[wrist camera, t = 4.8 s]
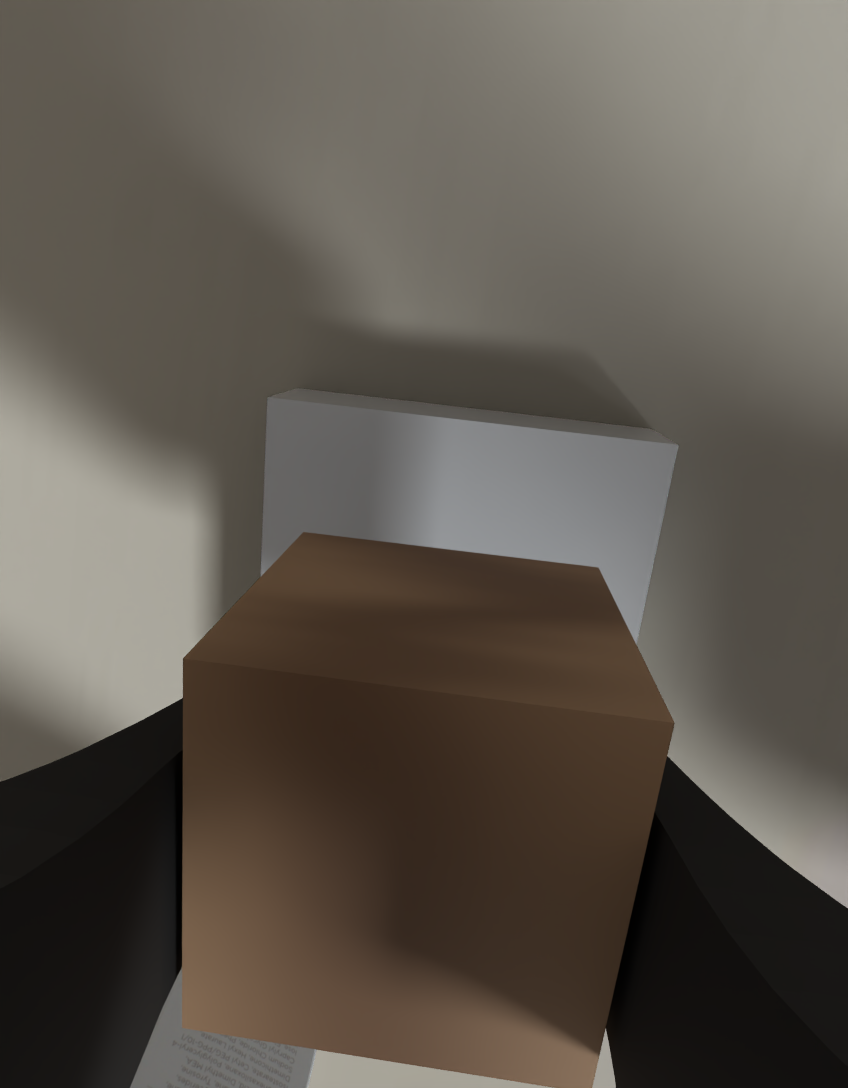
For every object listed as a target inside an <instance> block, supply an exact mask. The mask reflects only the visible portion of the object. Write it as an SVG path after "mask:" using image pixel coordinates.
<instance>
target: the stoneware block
mask: <svg viewBox="0 0 848 1088" xmlns="http://www.w3.org/2000/svg"><path fill="white" fill-rule="evenodd" d="M678 446H679V445H678V444H676V443H675V442H673V441H671V440H670V439H668V438H666V437H665V436H663V435H661V434H660V433H658V432H656V431H655V430H653V429H649V428H640V427H631V426H623V425H614V424H605V423H597V422H588V421H579V420H571V419H562V418H553V417H544V416H536V415H527V414H518V413H510V412H501V411H492V410H484V409H475V408H466V407H457V406H449V405H440V404H431V403H423V402H414V401H405V400H397V399H388V398H379V397H371V396H362V395H353V394H344V393H336V392H327V391H318V390H310V389H301V388H296V389H293V390H290V391H286V392H283V393H280V394H276V395H273V396H270V397H267V420H266V446H265V472H264V498H263V525H262V551H261V576H262V575H263V574H264V573H265V572H266V571H267V570H268V569H269V568H270V567H271V565H272V564H273V563H274V562H275V561H276V560H277V559H278V558H279V557H280V556H281V555H282V554H283V553H284V552H285V551H286V550H287V549H288V548H289V547H290V546H291V544H292V543H293V542H294V541H295V540H296V539H297V538H298V537H299V536H300V535H301V534H302V533H303V532H308V533H317V534H325V535H333V536H342V537H350V538H358V539H367V540H375V541H383V542H392V543H400V544H408V545H417V546H425V547H433V548H441V549H450V550H458V551H466V552H475V553H483V554H491V555H500V556H508V557H516V558H525V559H533V560H541V561H549V562H558V563H566V564H574V565H583V566H591V567H599V569H600V572H601V574H602V576H603V578H604V580H605V582H606V584H607V586H608V588H609V590H610V592H611V594H612V596H613V598H614V600H615V602H616V604H617V606H618V608H619V610H620V612H621V614H622V616H623V619H624V621H625V623H626V625H627V627H628V629H629V631H630V633H631V635H632V637H633V639H634V641H635V643H636V645H637V640H638V635H639V631H640V626H641V621H642V616H643V612H644V607H645V602H646V597H647V593H648V588H649V583H650V579H651V574H652V569H653V564H654V560H655V555H656V550H657V545H658V541H659V536H660V531H661V527H662V522H663V517H664V512H665V508H666V503H667V498H668V493H669V489H670V484H671V479H672V475H673V470H674V465H675V460H676V456H677V451H678Z"/></svg>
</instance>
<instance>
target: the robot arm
mask: <svg viewBox="0 0 848 1088" xmlns="http://www.w3.org/2000/svg"><path fill="white" fill-rule="evenodd" d="M182 853H183V698H182V699H180V700H179V701H177V702H175V703H173V704H171V705H169V706H167V707H166V708H164V709H162V710H160V711H158V712H156V713H155V714H153V715H151V716H149V717H147V718H145V719H143V720H142V721H140V722H138V723H136V724H134V725H132V726H129V727H127V728H125V729H123V730H121V731H119V732H117V733H115V734H113V735H111V736H109V737H107V738H105V739H103V740H101V741H99V742H97V743H94V744H92V745H90V746H88V747H86V748H84V749H82V750H80V751H78V752H75V753H73V754H71V755H68V756H66V757H64V758H61V759H59V760H57V761H54V762H52V763H49V764H47V765H44V766H42V767H39V768H37V769H34V770H31V771H29V772H26V773H23V774H21V775H18V776H16V777H13V778H10V779H8V780H5V781H2V782H0V1088H130V1087H131V1084H132V1082H133V1079H134V1077H135V1074H136V1072H137V1069H138V1067H139V1064H140V1062H141V1060H142V1057H143V1055H144V1052H145V1050H146V1047H147V1045H148V1042H149V1040H150V1037H151V1035H152V1032H153V1030H154V1028H155V1025H156V1023H157V1020H158V1018H159V1015H160V1013H161V1010H162V1008H163V1006H164V1004H165V1002H166V999H167V997H168V995H169V993H170V991H171V989H172V987H173V985H174V982H175V980H176V978H177V976H178V974H179V972H180V970H181V968H182ZM606 1031H607V1036H608V1040H609V1046H610V1052H611V1058H612V1064H613V1069H614V1075H615V1082H616V1088H848V908H846V907H845V906H843V905H842V904H840V903H839V902H838V901H836V900H835V899H833V898H832V897H831V896H829V895H828V894H827V893H825V892H824V891H822V890H821V889H820V888H818V887H817V886H816V885H814V884H813V883H812V882H810V881H809V880H808V879H806V878H805V877H803V876H802V875H801V874H799V873H798V872H797V871H795V870H794V869H793V868H791V867H790V866H789V865H787V864H786V863H785V862H784V861H782V860H781V859H780V858H779V857H777V856H776V855H775V854H774V853H772V852H771V851H770V850H769V849H768V848H766V847H765V846H764V845H763V844H762V843H760V842H759V841H758V840H757V839H756V838H755V837H753V836H752V835H751V834H750V833H749V832H748V831H746V830H745V829H744V828H743V827H742V826H740V825H739V824H738V823H737V822H736V821H735V820H734V819H733V818H731V817H730V816H729V815H728V814H727V813H726V812H725V811H724V810H723V809H721V808H720V807H719V806H718V805H717V804H716V803H715V802H714V801H713V800H712V799H711V798H710V797H709V796H707V795H706V794H705V793H704V792H703V791H702V790H701V789H700V788H699V787H698V786H697V785H696V784H695V783H694V782H693V781H692V780H691V779H690V778H689V777H688V776H687V775H686V774H685V773H684V772H683V771H682V770H681V769H680V768H679V767H678V766H677V765H676V764H675V763H674V762H673V761H672V760H671V759H670V758H669V757H668V756H667V759H666V763H665V767H664V772H663V776H662V781H661V785H660V789H659V794H658V798H657V803H656V807H655V812H654V816H653V820H652V825H651V829H650V834H649V838H648V842H647V847H646V851H645V856H644V860H643V865H642V869H641V873H640V878H639V882H638V887H637V891H636V896H635V900H634V904H633V909H632V913H631V918H630V922H629V926H628V931H627V935H626V940H625V944H624V949H623V953H622V957H621V962H620V966H619V971H618V975H617V979H616V984H615V988H614V993H613V997H612V1002H611V1006H610V1010H609V1015H608V1019H607V1024H606Z"/></svg>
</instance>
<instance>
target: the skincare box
mask: <svg viewBox="0 0 848 1088" xmlns="http://www.w3.org/2000/svg"><path fill="white" fill-rule="evenodd" d="M315 1055H316V1049H310V1048H304V1047H298V1046H291V1045H285V1044H279V1043H273V1042H266V1041H260V1040H254V1039H247V1038H241V1037H235V1036H229V1035H222V1034H216V1033H210V1032H204V1031H197V1030H191V1029H185V1028H182V968H181V970H180V972H179V974H178V976H177V978H176V980H175V982H174V985H173V987H172V989H171V991H170V993H169V995H168V997H167V999H166V1002H165V1004H164V1006H163V1008H162V1010H161V1013H160V1015H159V1018H158V1020H157V1023H156V1025H155V1028H154V1030H153V1032H152V1035H151V1037H150V1040H149V1042H148V1045H147V1047H146V1050H145V1052H144V1055H143V1057H142V1060H141V1062H140V1064H139V1067H138V1069H137V1072H136V1074H135V1077H134V1079H133V1082H132V1084H131V1087H130V1088H308V1086H309V1082H310V1077H311V1073H312V1069H313V1064H314V1060H315Z"/></svg>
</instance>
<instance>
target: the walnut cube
mask: <svg viewBox="0 0 848 1088" xmlns="http://www.w3.org/2000/svg"><path fill="white" fill-rule="evenodd" d="M673 728H674V721H673V719H672V717H671V715H670V713H669V711H668V709H667V706H666V704H665V702H664V700H663V698H662V696H661V694H660V692H659V690H658V688H657V686H656V684H655V682H654V680H653V678H652V676H651V674H650V672H649V670H648V668H647V666H646V664H645V661H644V659H643V657H642V655H641V653H640V651H639V649H638V647H637V645H636V643H635V641H634V639H633V637H632V635H631V633H630V631H629V629H628V627H627V625H626V623H625V621H624V619H623V616H622V614H621V612H620V610H619V608H618V606H617V604H616V602H615V600H614V598H613V596H612V594H611V592H610V590H609V588H608V586H607V584H606V582H605V580H604V578H603V576H602V574H601V572H600V569H599V567H591V566H583V565H574V564H566V563H558V562H549V561H541V560H533V559H525V558H516V557H508V556H500V555H491V554H483V553H475V552H466V551H458V550H450V549H441V548H433V547H425V546H417V545H408V544H400V543H392V542H383V541H375V540H367V539H358V538H350V537H342V536H333V535H325V534H317V533H308V532H303V533H302V534H301V535H300V536H299V537H298V538H297V539H296V540H295V541H294V542H293V543H292V544H291V546H290V547H289V548H288V549H287V550H286V551H285V552H284V553H283V554H282V555H281V556H280V557H279V558H278V559H277V560H276V561H275V562H274V563H273V564H272V565H271V567H270V568H269V569H268V570H267V571H266V572H265V573H264V574H263V575H262V576H261V577H260V578H259V579H258V580H257V581H256V582H255V583H254V584H253V585H252V587H251V588H250V589H249V590H248V591H247V592H246V593H245V594H244V595H243V596H242V597H241V598H240V599H239V600H238V601H237V602H236V603H235V604H234V605H233V606H232V608H231V609H230V610H229V611H228V612H227V613H226V614H225V615H224V616H223V617H222V618H221V619H220V620H219V621H218V622H217V623H216V624H215V625H214V626H213V628H212V629H211V630H210V631H209V632H208V633H207V634H206V635H205V636H204V637H203V638H202V639H201V640H200V641H199V642H198V643H197V644H196V645H195V646H194V648H193V649H192V650H191V651H190V652H189V653H188V654H187V655H186V656H185V657H184V658H183V853H182V1028H185V1029H191V1030H197V1031H204V1032H210V1033H216V1034H222V1035H229V1036H235V1037H241V1038H247V1039H254V1040H260V1041H266V1042H273V1043H279V1044H285V1045H291V1046H298V1047H304V1048H310V1049H316V1050H323V1051H329V1052H335V1053H341V1054H348V1055H354V1056H360V1057H366V1058H373V1059H379V1060H385V1061H391V1062H398V1063H404V1064H410V1065H416V1066H423V1067H429V1068H435V1069H441V1070H448V1071H454V1072H460V1073H467V1074H473V1075H479V1076H485V1077H492V1078H498V1079H504V1080H510V1081H517V1082H523V1083H529V1084H535V1085H542V1086H548V1087H554V1088H592V1085H593V1081H594V1077H595V1072H596V1068H597V1063H598V1059H599V1055H600V1050H601V1046H602V1041H603V1037H604V1032H605V1028H606V1024H607V1019H608V1015H609V1010H610V1006H611V1002H612V997H613V993H614V988H615V984H616V979H617V975H618V971H619V966H620V962H621V957H622V953H623V949H624V944H625V940H626V935H627V931H628V926H629V922H630V918H631V913H632V909H633V904H634V900H635V896H636V891H637V887H638V882H639V878H640V873H641V869H642V865H643V860H644V856H645V851H646V847H647V842H648V838H649V834H650V829H651V825H652V820H653V816H654V812H655V807H656V803H657V798H658V794H659V789H660V785H661V781H662V776H663V772H664V767H665V763H666V759H667V754H668V750H669V745H670V741H671V736H672V732H673Z"/></svg>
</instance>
